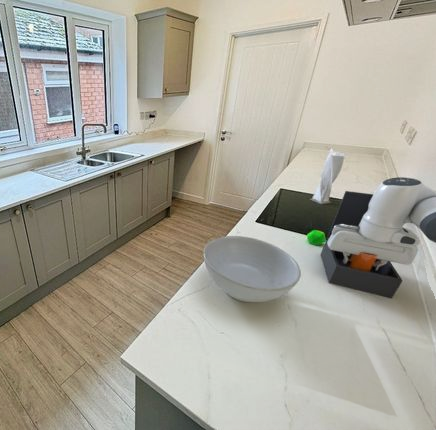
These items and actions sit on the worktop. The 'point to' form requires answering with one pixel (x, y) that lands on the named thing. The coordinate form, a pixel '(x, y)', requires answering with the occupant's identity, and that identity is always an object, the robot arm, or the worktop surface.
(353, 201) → the box lid
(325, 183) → the skyscraper
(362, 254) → the cup
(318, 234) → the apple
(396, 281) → the black box
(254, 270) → the decorative bowl
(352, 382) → the worktop surface
